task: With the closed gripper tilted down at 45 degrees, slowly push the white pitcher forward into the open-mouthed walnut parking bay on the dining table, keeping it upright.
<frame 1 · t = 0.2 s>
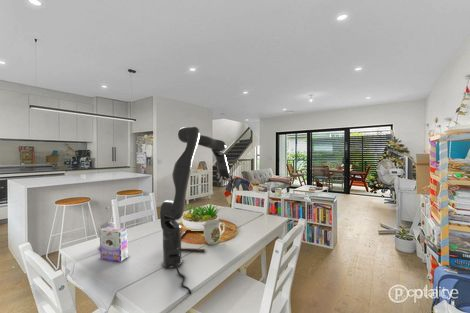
hand: (226, 186, 164), 31 cm above the table, tool tilted 20°, fingers open, 8 cm apart
french press: (107, 246, 135), on the table
candy box: (114, 258, 121), on the table
bay: (198, 241, 142), on the table
pitcher: (213, 242, 141), on the table
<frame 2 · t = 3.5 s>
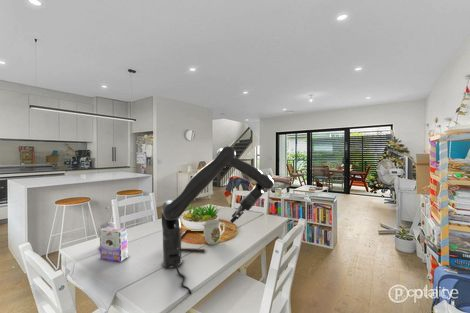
hand: (232, 219, 139), 15 cm above the table, tool tilted 40°, fingers open, 8 cm apart
nothing on the table moved.
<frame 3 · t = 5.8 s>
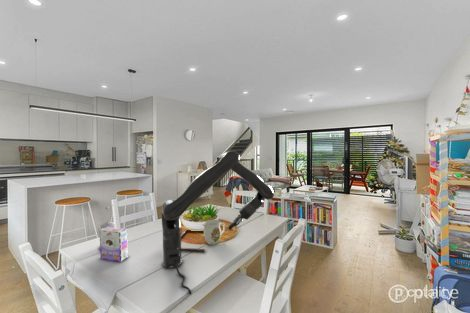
hand: (229, 228, 139), 10 cm above the table, tool tilted 45°, fingers closed
nothing on the table moved.
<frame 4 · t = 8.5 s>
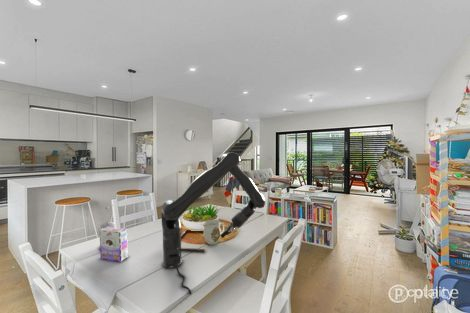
hand: (221, 236, 140), 4 cm above the table, tool tilted 45°, fingers closed
pitcher: (213, 242, 141), on the table, touching gripper
everything else where it was.
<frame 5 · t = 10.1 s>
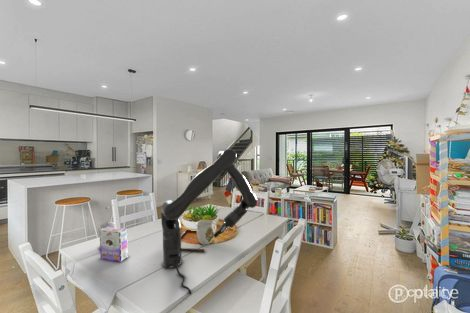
hand: (214, 236, 141), 4 cm above the table, tool tilted 45°, fingers closed
pitcher: (206, 242, 141), on the table, touching gripper
everything else where it was.
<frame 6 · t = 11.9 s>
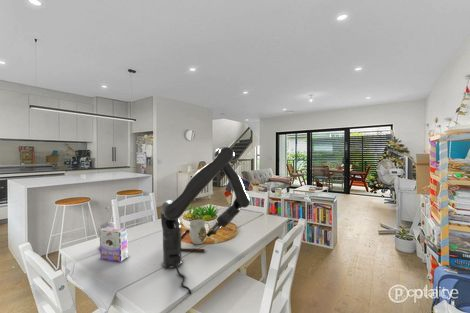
hand: (207, 235, 141), 4 cm above the table, tool tilted 45°, fingers closed
pitcher: (199, 241, 141), on the table, touching gripper
everything else where it was.
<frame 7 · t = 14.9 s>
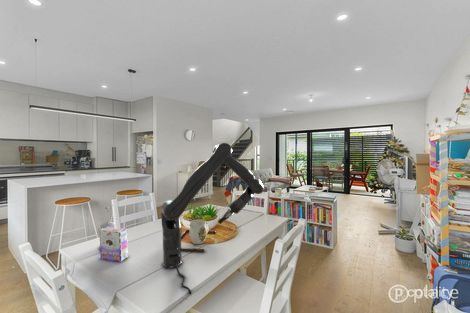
hand: (219, 222, 140), 13 cm above the table, tool tilted 45°, fingers closed
pitcher: (199, 241, 142), on the table
everything else where it was.
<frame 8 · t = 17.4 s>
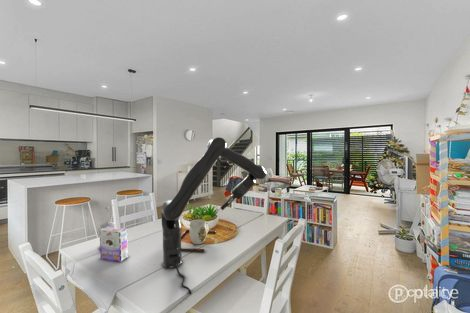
hand: (221, 208, 139), 22 cm above the table, tool tilted 45°, fingers closed
nothing on the table moved.
at the end: pitcher inside the target area (1.3 cm from its centre), on the table; pitcher tilted 0°; pitcher moved 9.4 cm from its start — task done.
